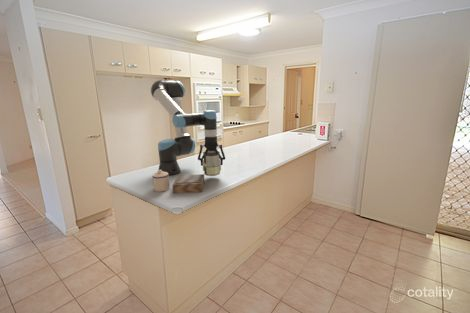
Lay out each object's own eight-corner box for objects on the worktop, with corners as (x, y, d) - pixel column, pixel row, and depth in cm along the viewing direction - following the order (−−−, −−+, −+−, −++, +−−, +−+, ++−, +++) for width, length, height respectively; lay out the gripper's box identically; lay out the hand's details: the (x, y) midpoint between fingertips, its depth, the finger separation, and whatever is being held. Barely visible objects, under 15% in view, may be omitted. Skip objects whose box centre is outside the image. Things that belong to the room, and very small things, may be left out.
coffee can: (200, 173, 147) (199, 152, 144) (212, 169, 155) (211, 149, 151) (212, 177, 141) (211, 155, 137) (223, 173, 149) (223, 152, 145)
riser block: (173, 193, 128) (172, 184, 126) (178, 182, 143) (178, 174, 142) (202, 192, 128) (201, 182, 127) (204, 181, 144) (204, 173, 142)
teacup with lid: (173, 188, 134) (171, 169, 131) (158, 193, 128) (156, 173, 125) (163, 183, 142) (161, 165, 139) (148, 187, 136) (146, 169, 133)
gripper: (191, 137, 138) (193, 172, 143) (229, 136, 138) (229, 171, 144) (193, 135, 145) (195, 168, 151) (229, 134, 146) (229, 167, 152)
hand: (212, 170), depth 147 cm, fingers closed on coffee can, 10 cm apart
